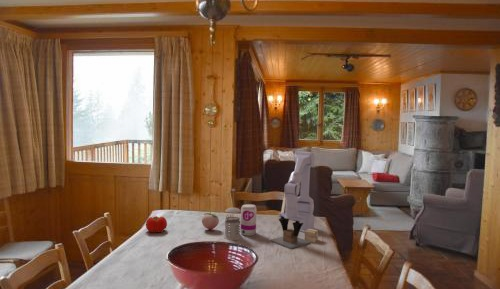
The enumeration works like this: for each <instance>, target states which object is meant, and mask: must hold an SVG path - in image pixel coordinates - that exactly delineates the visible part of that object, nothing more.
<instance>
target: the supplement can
mask: <svg viewBox="0 0 500 289" xmlns="http://www.w3.org/2000/svg"><path fill="white" fill-rule="evenodd" d="M240 210H241V212H240V234H241V236H242V235H243V236H249V237H251V236H255V234H257V212H258V211H257V210H258V209H257V207H256V205H255V204H251V203H250V204H249V203H245V204H243V205H242V206H241V208H240Z"/></svg>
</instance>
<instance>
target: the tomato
mask: <svg viewBox="0 0 500 289" xmlns="http://www.w3.org/2000/svg"><path fill="white" fill-rule="evenodd" d="M167 226H168V222H167V219H166V218H165V217H164V216H160V217H159V216H157V215H156V216H151V217H148V219H146V221H145V228H146V230H148V231H149V232H151V233H161V232H163V231H164V230H165V229H166V228H167Z"/></svg>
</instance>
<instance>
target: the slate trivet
mask: <svg viewBox="0 0 500 289" xmlns="http://www.w3.org/2000/svg"><path fill="white" fill-rule="evenodd" d="M269 242H270V243H274V244H276V245H278V246H282V247H284V248H287V249H289V250H293V249H295V248H299V247H303V246H307V245H310V244H311V242H310V241H307V240H305V238H304V239H303V238H301V237H298V240H297V241H296V242H293V243H289V242H286V241H283V236H279V237H276V238H271V239H270V240H269Z"/></svg>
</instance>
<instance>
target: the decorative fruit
mask: <svg viewBox="0 0 500 289" xmlns="http://www.w3.org/2000/svg"><path fill="white" fill-rule="evenodd" d="M201 223H202V224H201V225H202V226H203V227H204V228H205V229H207V230H209V231H211V230H213V229H215V228H216V227H217V226H218V225H219V223H220V218H219V217H218V216H217V214H215V213H212V212H211V211H210V212H204V213H203V217H202V218H201Z"/></svg>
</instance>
